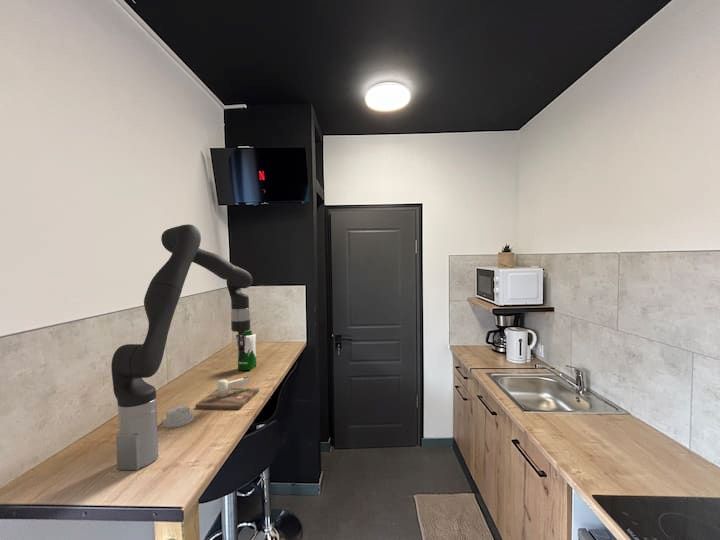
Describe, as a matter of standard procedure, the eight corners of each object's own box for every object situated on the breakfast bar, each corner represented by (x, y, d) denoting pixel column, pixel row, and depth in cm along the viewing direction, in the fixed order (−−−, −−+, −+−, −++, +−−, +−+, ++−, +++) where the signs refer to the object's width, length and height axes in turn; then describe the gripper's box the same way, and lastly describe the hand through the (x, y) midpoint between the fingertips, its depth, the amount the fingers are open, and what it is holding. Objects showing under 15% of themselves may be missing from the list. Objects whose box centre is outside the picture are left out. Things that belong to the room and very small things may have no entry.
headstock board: (240, 409, 131) (240, 404, 131) (195, 408, 133) (195, 404, 133) (258, 391, 149) (258, 387, 149) (219, 391, 151) (219, 387, 151)
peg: (249, 389, 146) (249, 376, 146) (219, 398, 138) (219, 383, 138) (246, 387, 149) (245, 374, 149) (216, 395, 141) (215, 381, 141)
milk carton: (258, 366, 186) (257, 330, 186) (250, 371, 177) (249, 333, 177) (243, 366, 188) (242, 330, 187) (235, 371, 179) (233, 333, 178)
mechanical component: (155, 427, 118) (180, 429, 116) (155, 414, 118) (180, 416, 116) (176, 415, 128) (200, 416, 126) (176, 403, 128) (199, 404, 126)
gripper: (250, 320, 139) (251, 363, 139) (249, 316, 151) (250, 355, 151) (230, 322, 136) (232, 365, 136) (231, 317, 149) (232, 357, 149)
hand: (241, 360), depth 144 cm, fingers closed
